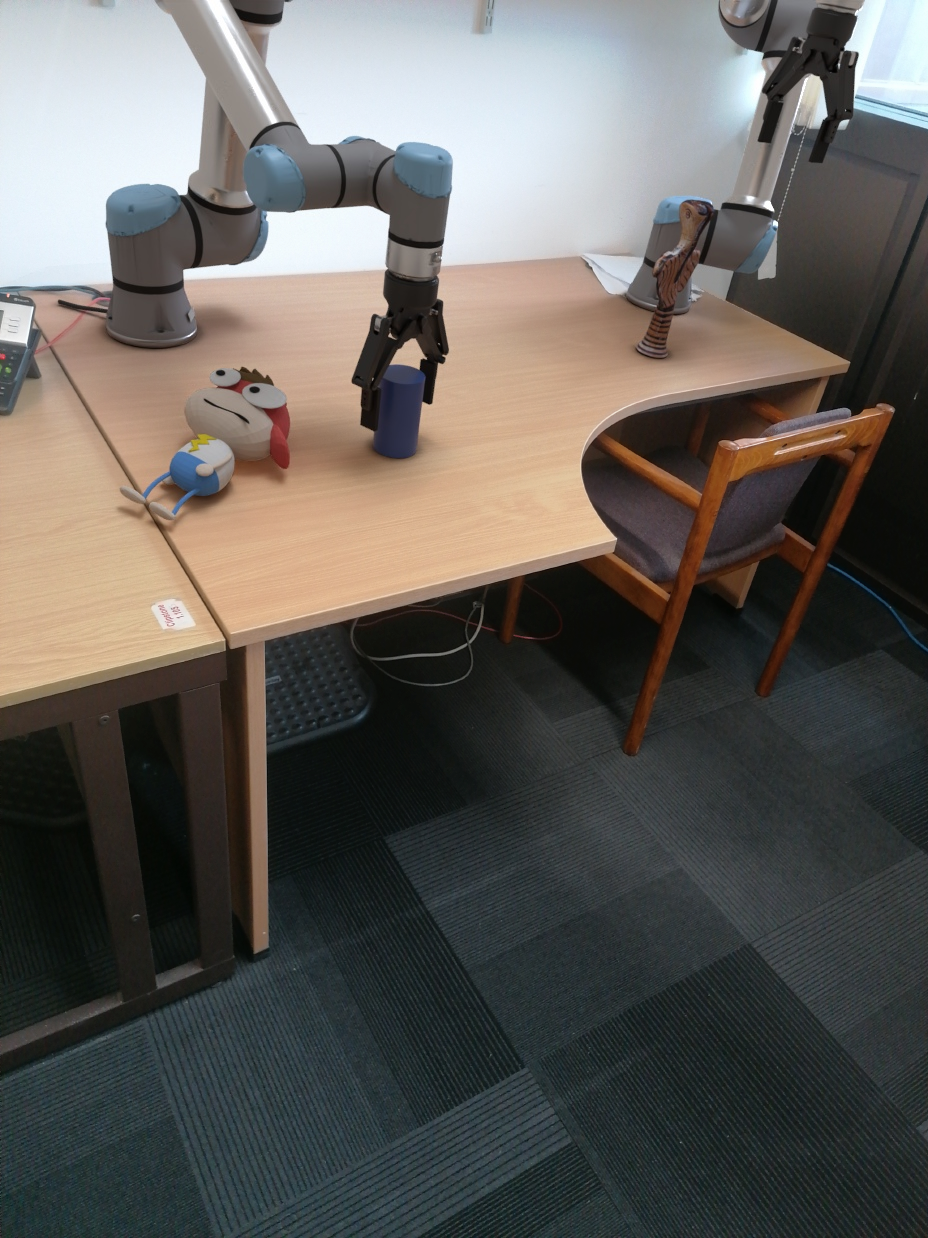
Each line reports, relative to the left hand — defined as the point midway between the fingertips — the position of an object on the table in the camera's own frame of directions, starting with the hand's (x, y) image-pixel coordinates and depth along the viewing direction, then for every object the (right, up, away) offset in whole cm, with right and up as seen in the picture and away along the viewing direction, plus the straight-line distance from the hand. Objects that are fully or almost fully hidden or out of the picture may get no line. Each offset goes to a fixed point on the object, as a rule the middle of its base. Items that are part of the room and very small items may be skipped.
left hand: (397, 414), depth 134 cm
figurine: (+50, +25, +51) cm, 75 cm away
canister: (-1, -4, +3) cm, 6 cm away
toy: (-25, -10, -9) cm, 29 cm away
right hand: (+68, +52, +24) cm, 89 cm away
